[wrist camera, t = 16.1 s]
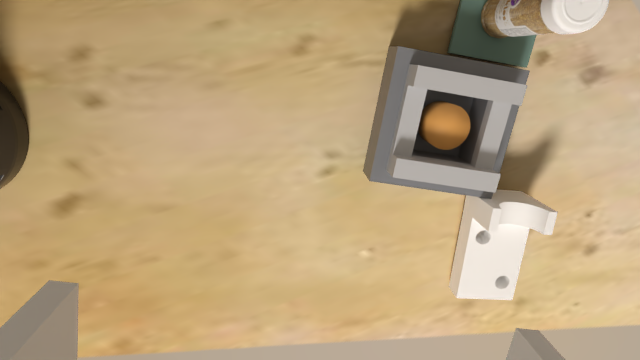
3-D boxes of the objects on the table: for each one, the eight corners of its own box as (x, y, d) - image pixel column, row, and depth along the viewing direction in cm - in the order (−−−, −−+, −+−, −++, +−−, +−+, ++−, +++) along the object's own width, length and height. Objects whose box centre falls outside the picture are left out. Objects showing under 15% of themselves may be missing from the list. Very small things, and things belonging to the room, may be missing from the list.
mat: (447, 52, 47) (449, 52, 46) (469, -37, 44) (471, -38, 44) (523, 67, 48) (526, 67, 47) (549, -20, 45) (552, -21, 45)
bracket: (464, 186, 52) (493, 208, 44) (520, 190, 52) (557, 212, 45) (446, 283, 55) (470, 317, 48) (498, 285, 56) (530, 319, 49)
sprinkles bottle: (489, -13, 45) (570, -41, 32) (528, 1, 45) (623, -20, 32) (472, 31, 46) (543, 21, 33) (510, 45, 46) (594, 41, 33)
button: (412, 140, 48) (420, 146, 45) (422, 97, 47) (431, 100, 44) (453, 147, 49) (463, 152, 46) (464, 104, 47) (475, 108, 44)
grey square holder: (363, 171, 50) (375, 189, 43) (388, 46, 46) (406, 45, 39) (476, 188, 51) (504, 208, 45) (510, 69, 48) (546, 72, 41)
